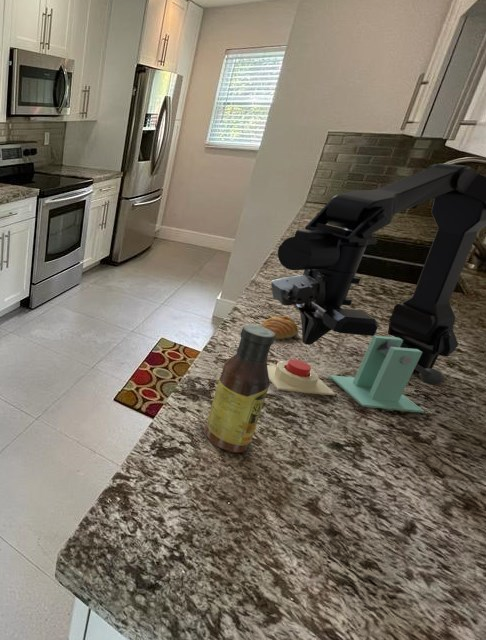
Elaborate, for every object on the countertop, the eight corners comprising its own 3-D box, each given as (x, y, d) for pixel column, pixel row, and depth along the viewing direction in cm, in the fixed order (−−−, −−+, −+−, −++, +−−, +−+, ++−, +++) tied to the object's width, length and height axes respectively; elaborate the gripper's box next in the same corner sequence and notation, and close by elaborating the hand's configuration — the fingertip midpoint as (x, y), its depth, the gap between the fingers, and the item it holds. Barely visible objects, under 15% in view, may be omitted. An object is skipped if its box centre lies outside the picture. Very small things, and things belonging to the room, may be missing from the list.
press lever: (422, 381, 77) (437, 370, 76) (437, 391, 74) (452, 380, 73) (373, 349, 76) (387, 337, 75) (386, 358, 73) (401, 346, 72)
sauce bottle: (247, 461, 62) (287, 348, 55) (202, 444, 65) (234, 334, 58) (248, 435, 67) (284, 328, 60) (205, 420, 70) (235, 316, 63)
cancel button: (301, 367, 81) (303, 360, 81) (312, 378, 78) (315, 370, 77) (281, 365, 82) (284, 358, 81) (292, 376, 78) (295, 368, 78)
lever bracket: (382, 385, 81) (406, 333, 77) (422, 416, 73) (451, 360, 69) (327, 379, 82) (348, 328, 78) (360, 410, 74) (386, 354, 70)
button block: (307, 373, 84) (312, 361, 83) (333, 399, 77) (339, 385, 76) (255, 368, 85) (259, 356, 84) (276, 393, 78) (281, 380, 77)
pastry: (285, 346, 94) (290, 331, 93) (252, 334, 99) (257, 320, 98) (298, 334, 100) (303, 320, 98) (266, 323, 104) (270, 310, 103)
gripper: (259, 247, 82) (239, 317, 87) (320, 283, 64) (289, 367, 70) (319, 251, 80) (295, 322, 86) (397, 289, 63) (360, 374, 69)
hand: (306, 343), depth 78 cm, fingers closed
